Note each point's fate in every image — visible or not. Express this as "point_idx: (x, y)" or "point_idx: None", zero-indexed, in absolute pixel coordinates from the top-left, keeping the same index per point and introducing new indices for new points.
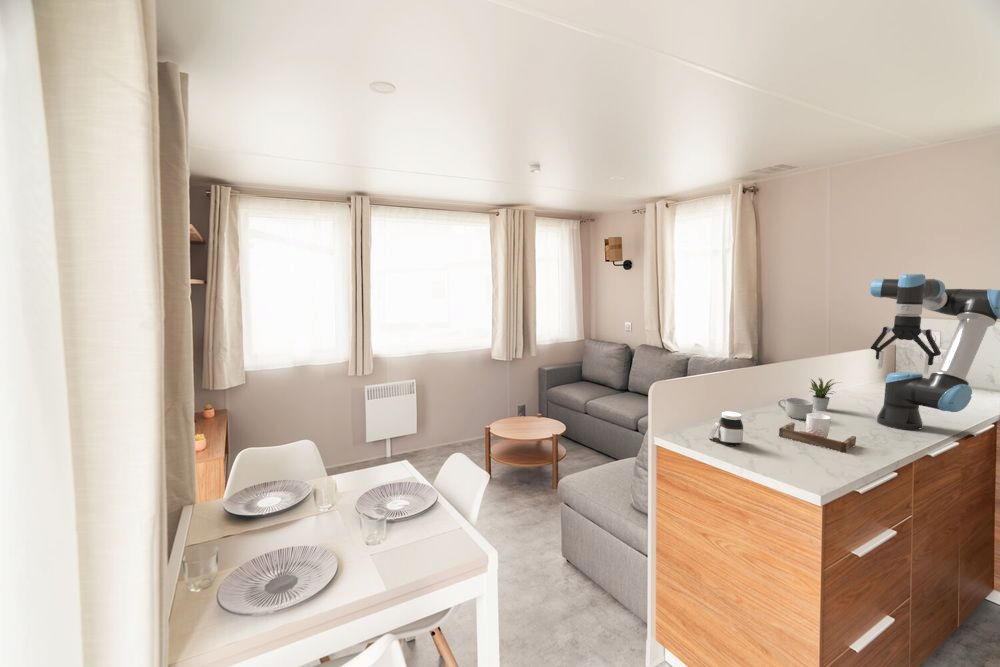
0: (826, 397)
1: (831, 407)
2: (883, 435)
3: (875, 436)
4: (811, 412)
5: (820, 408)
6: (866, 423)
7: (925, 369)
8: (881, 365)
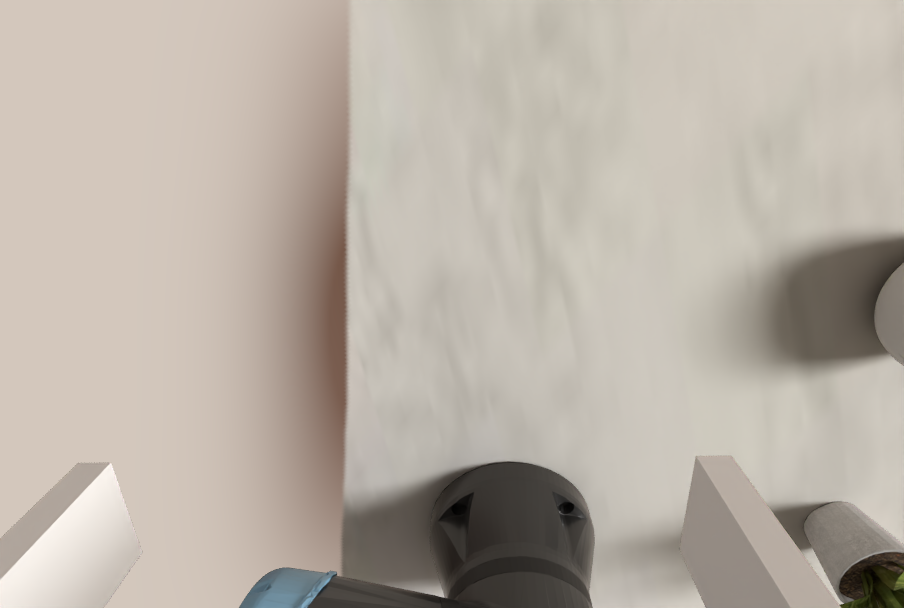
0: (850, 599)
1: None
2: (514, 307)
3: (537, 257)
4: (890, 314)
5: (835, 511)
6: (616, 447)
7: (34, 520)
8: (707, 543)
